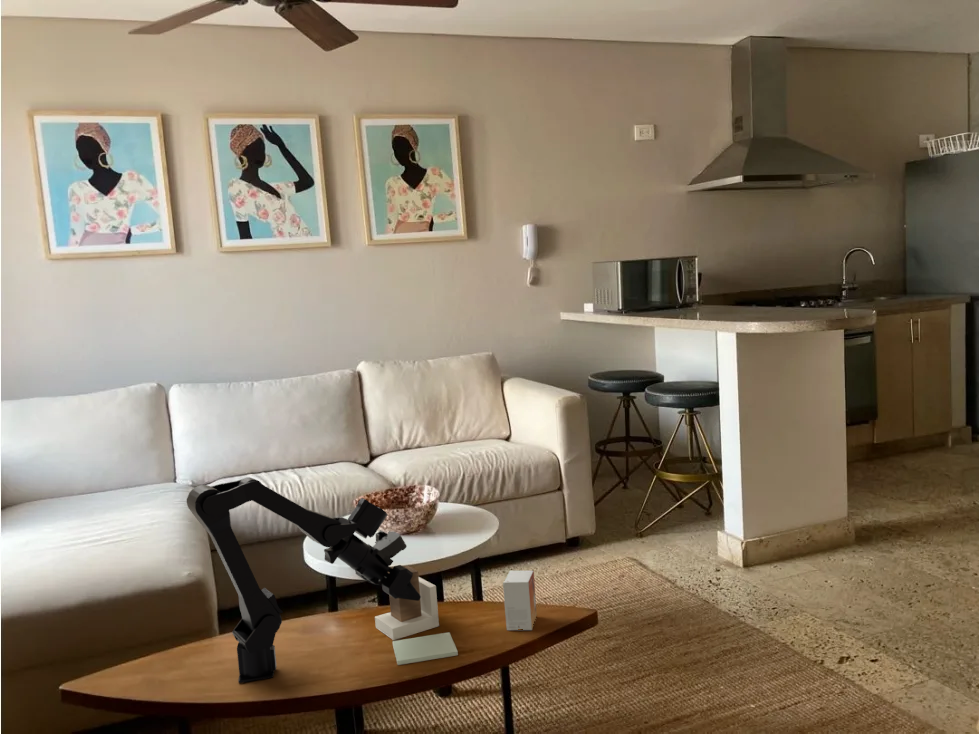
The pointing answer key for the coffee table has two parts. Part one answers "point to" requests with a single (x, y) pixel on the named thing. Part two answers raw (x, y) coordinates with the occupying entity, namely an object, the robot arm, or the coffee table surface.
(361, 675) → the coffee table surface
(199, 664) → the coffee table surface
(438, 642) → the pad
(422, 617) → the ledge
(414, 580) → the walnut block
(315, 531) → the robot arm
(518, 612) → the small box
